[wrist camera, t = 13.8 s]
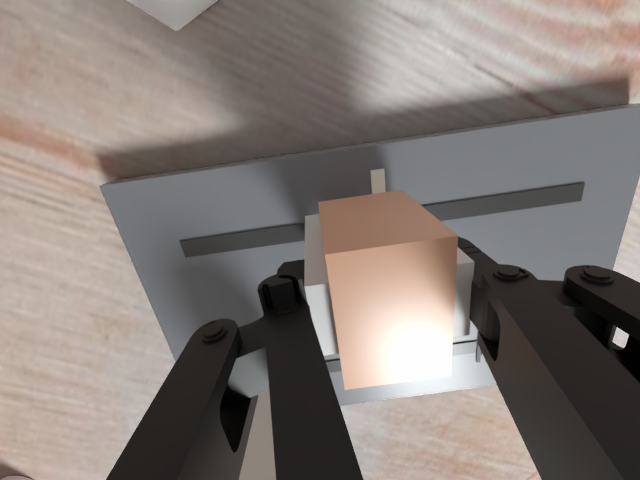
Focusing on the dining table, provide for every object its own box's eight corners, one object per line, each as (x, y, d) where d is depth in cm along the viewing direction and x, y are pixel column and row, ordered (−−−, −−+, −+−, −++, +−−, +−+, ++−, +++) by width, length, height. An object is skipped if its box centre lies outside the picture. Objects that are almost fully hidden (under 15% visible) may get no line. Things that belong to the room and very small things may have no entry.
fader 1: (304, 399, 21) (303, 552, 14) (255, 406, 21) (228, 561, 14) (292, 345, 19) (283, 489, 12) (238, 352, 19) (196, 501, 12)
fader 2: (389, 262, 17) (451, 375, 10) (328, 270, 17) (344, 389, 10) (384, 175, 15) (458, 235, 8) (316, 185, 15) (324, 254, 8)
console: (566, 357, 23) (584, 374, 22) (209, 405, 24) (202, 425, 22) (630, 103, 16) (663, 102, 14) (116, 179, 16) (97, 186, 15)
